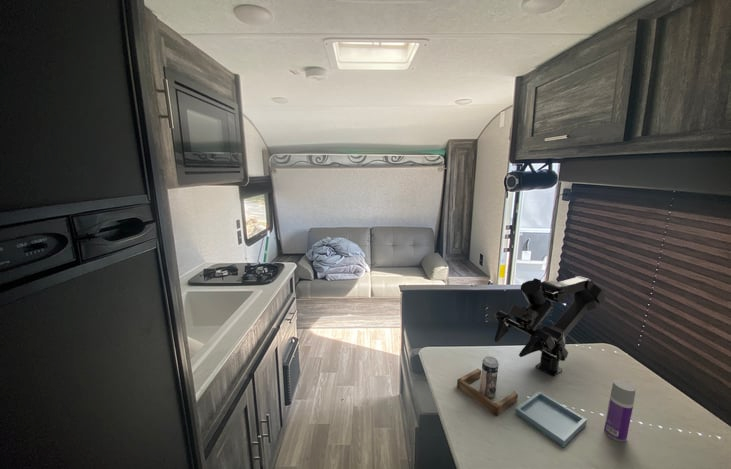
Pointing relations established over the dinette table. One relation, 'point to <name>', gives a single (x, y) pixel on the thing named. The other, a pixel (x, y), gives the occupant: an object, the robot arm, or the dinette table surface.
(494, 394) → the beer can
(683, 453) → the dinette table surface
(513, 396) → the frame
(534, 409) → the tray
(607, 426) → the container
